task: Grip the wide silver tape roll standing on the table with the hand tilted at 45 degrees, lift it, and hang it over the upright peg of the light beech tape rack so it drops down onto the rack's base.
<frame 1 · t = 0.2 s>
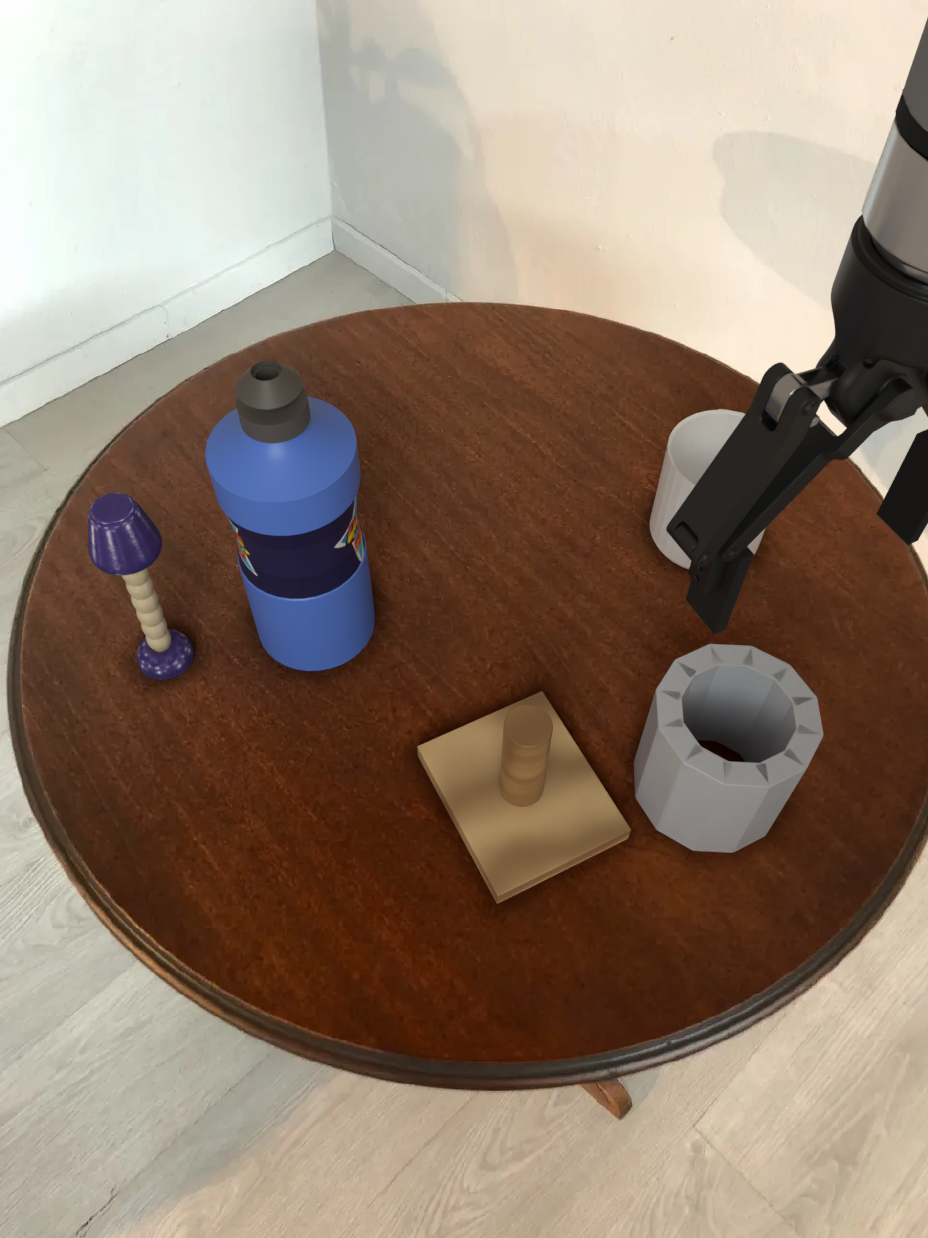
hand: (803, 569, 57), 19 cm above the table, tool pointing down, fingers open, 13 cm apart
silver tape: (706, 783, 71), on the table
water bottle: (316, 623, 78), on the table
toy lamp: (171, 657, 77), on the table
mug: (707, 521, 85), on the table
tape rack: (520, 796, 70), on the table
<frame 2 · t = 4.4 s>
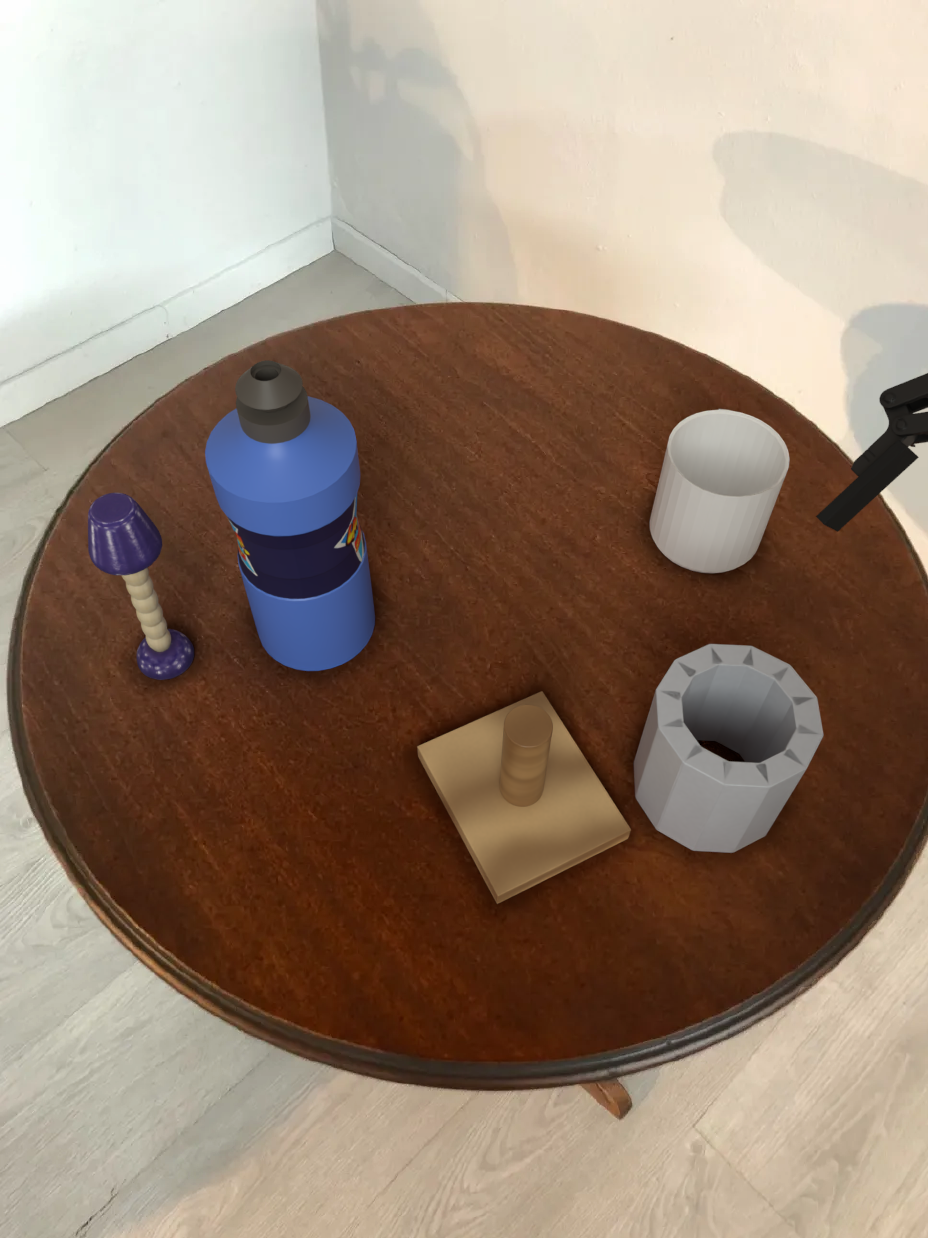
hand: (900, 602, 61), 15 cm above the table, tool tilted 45°, fingers open, 13 cm apart
nothing on the table moved.
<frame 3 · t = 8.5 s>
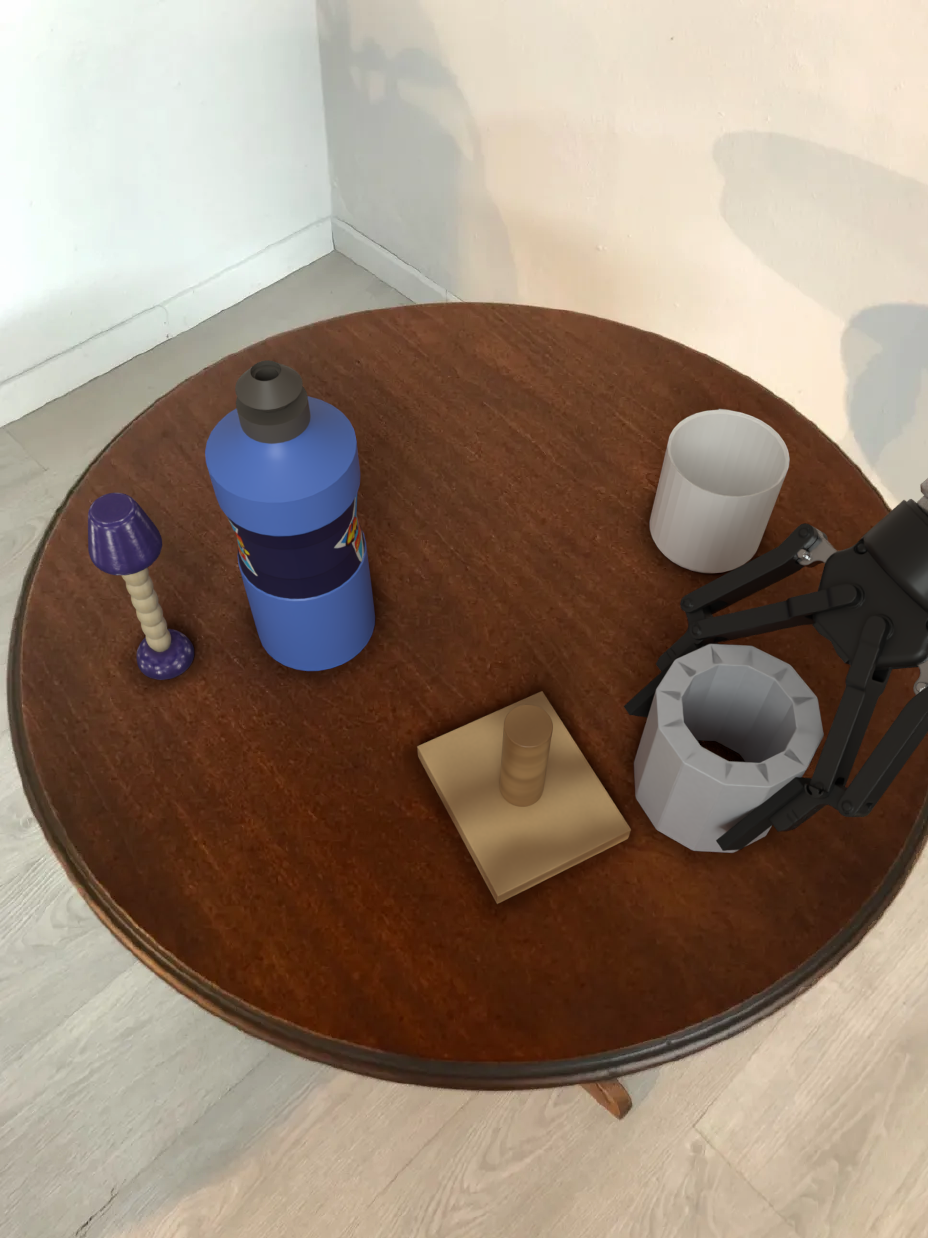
hand: (680, 775, 66), 4 cm above the table, tool tilted 45°, fingers closed on silver tape, 10 cm apart
silver tape: (706, 784, 70), on the table, touching gripper
everything else where it was.
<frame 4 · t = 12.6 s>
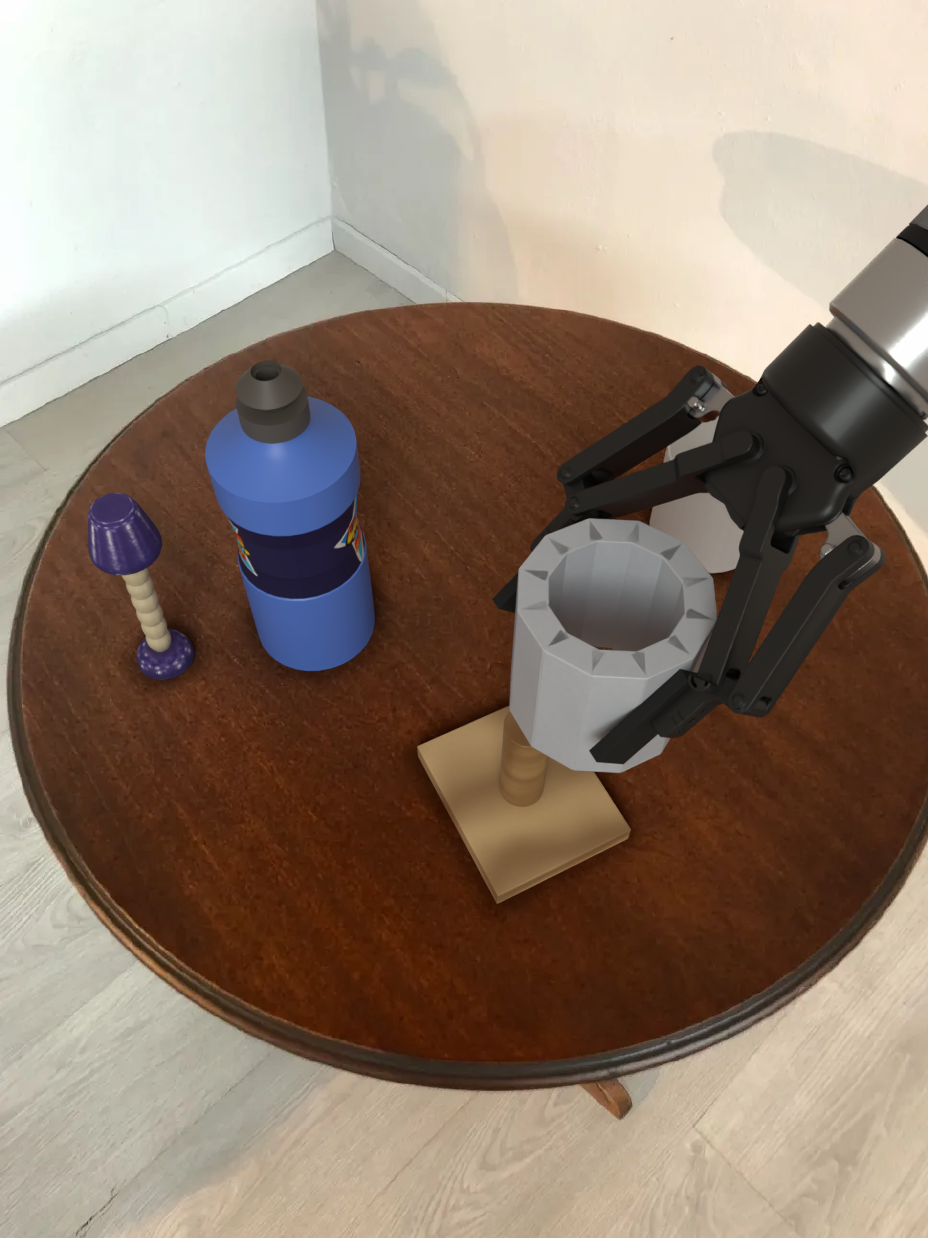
hand: (555, 679, 56), 17 cm above the table, tool tilted 45°, fingers closed on silver tape, 10 cm apart
silver tape: (595, 695, 60), point 13 cm above the table, touching gripper
everything else where it was.
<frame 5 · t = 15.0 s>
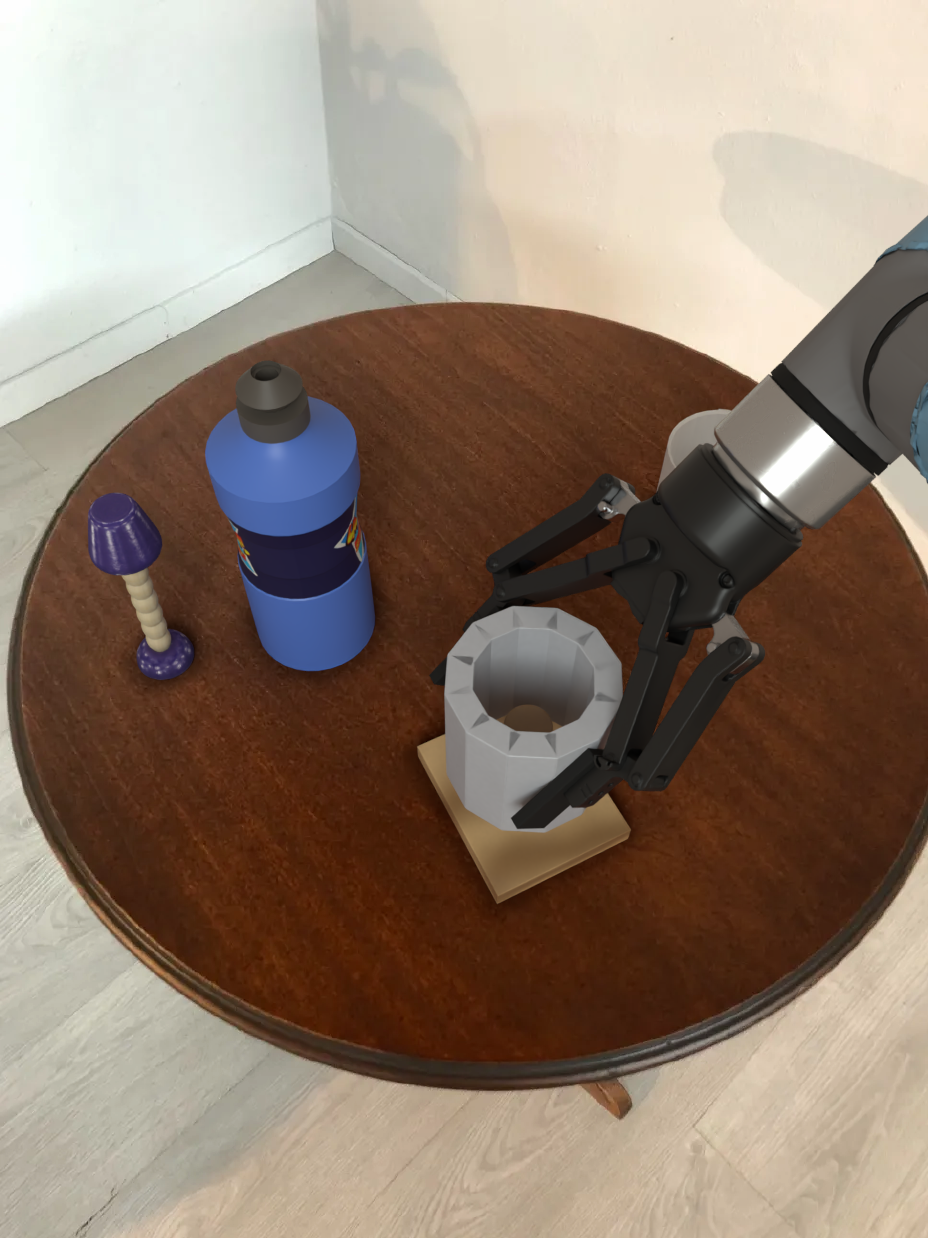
hand: (484, 749, 62), 9 cm above the table, tool tilted 45°, fingers closed on silver tape, 10 cm apart
silver tape: (524, 759, 66), point 5 cm above the table, touching gripper
everything else where it was.
when the fingers open (5 cm above the table, at t = 16.7 s): silver tape stays where it is, resting on tape rack.
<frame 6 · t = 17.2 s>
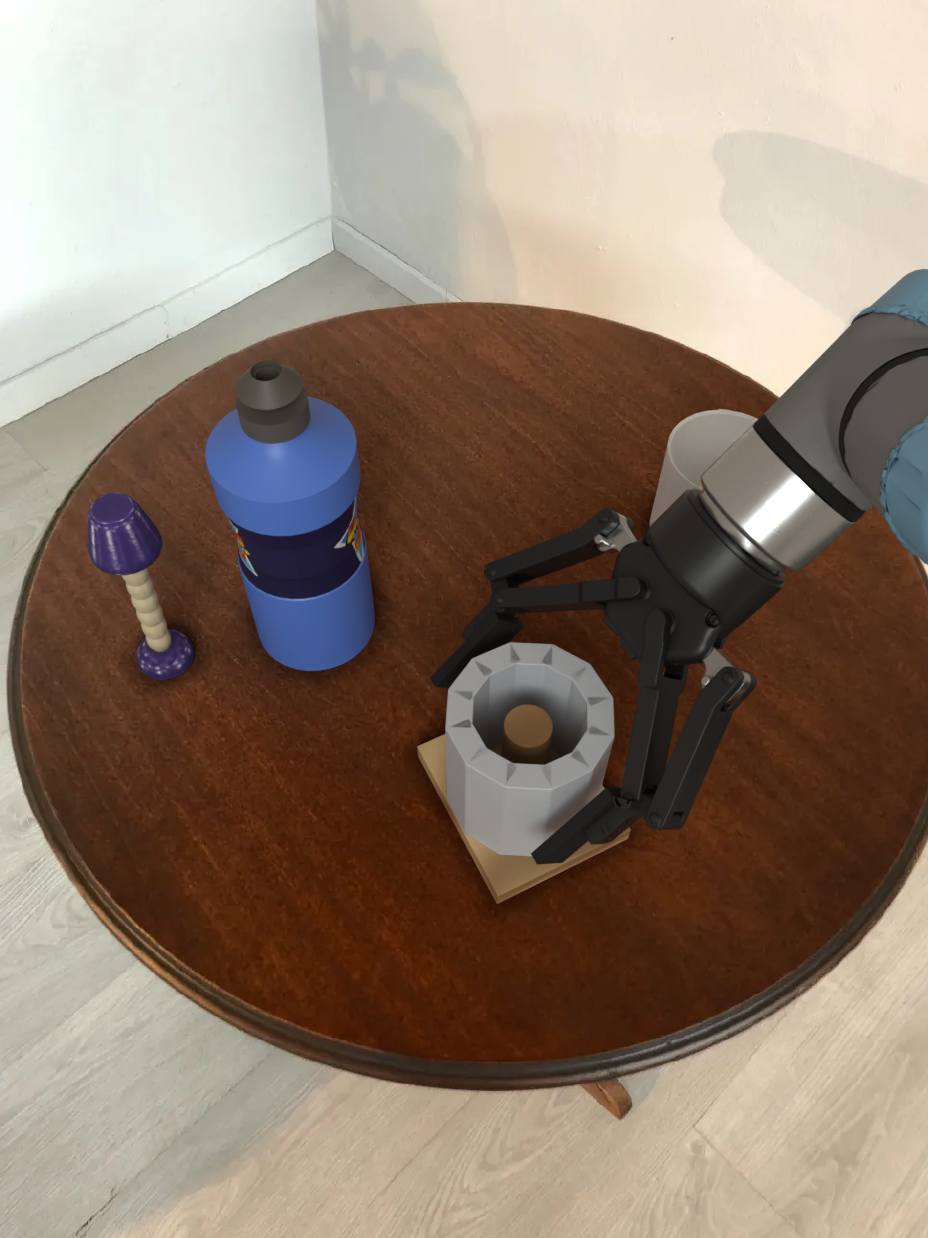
hand: (493, 767, 64), 7 cm above the table, tool tilted 45°, fingers open, 13 cm apart
silver tape: (521, 786, 69), point 1 cm above the table, touching tape rack
everything else where it was.
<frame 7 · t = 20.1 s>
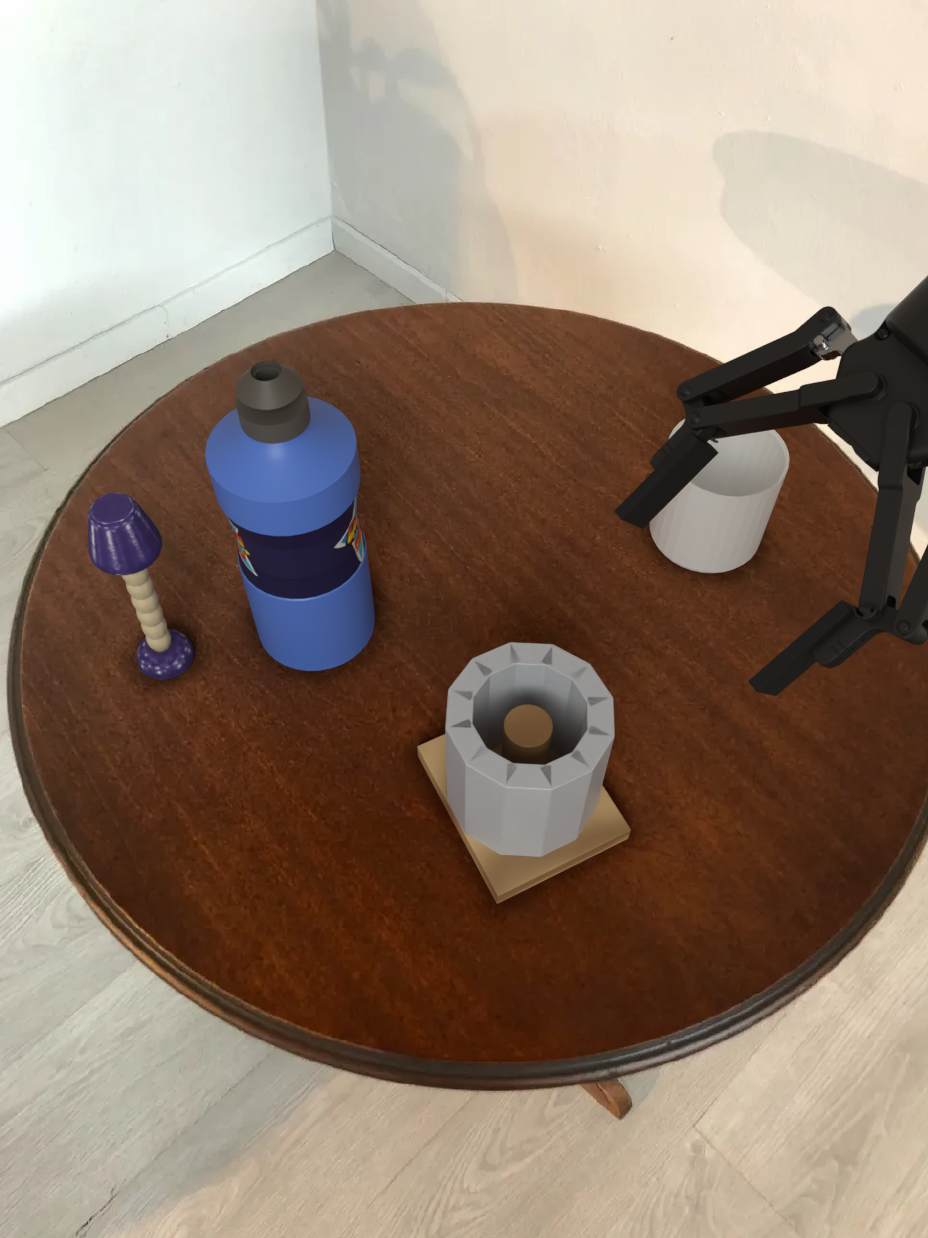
hand: (690, 600, 59), 17 cm above the table, tool tilted 45°, fingers open, 13 cm apart
nothing on the table moved.
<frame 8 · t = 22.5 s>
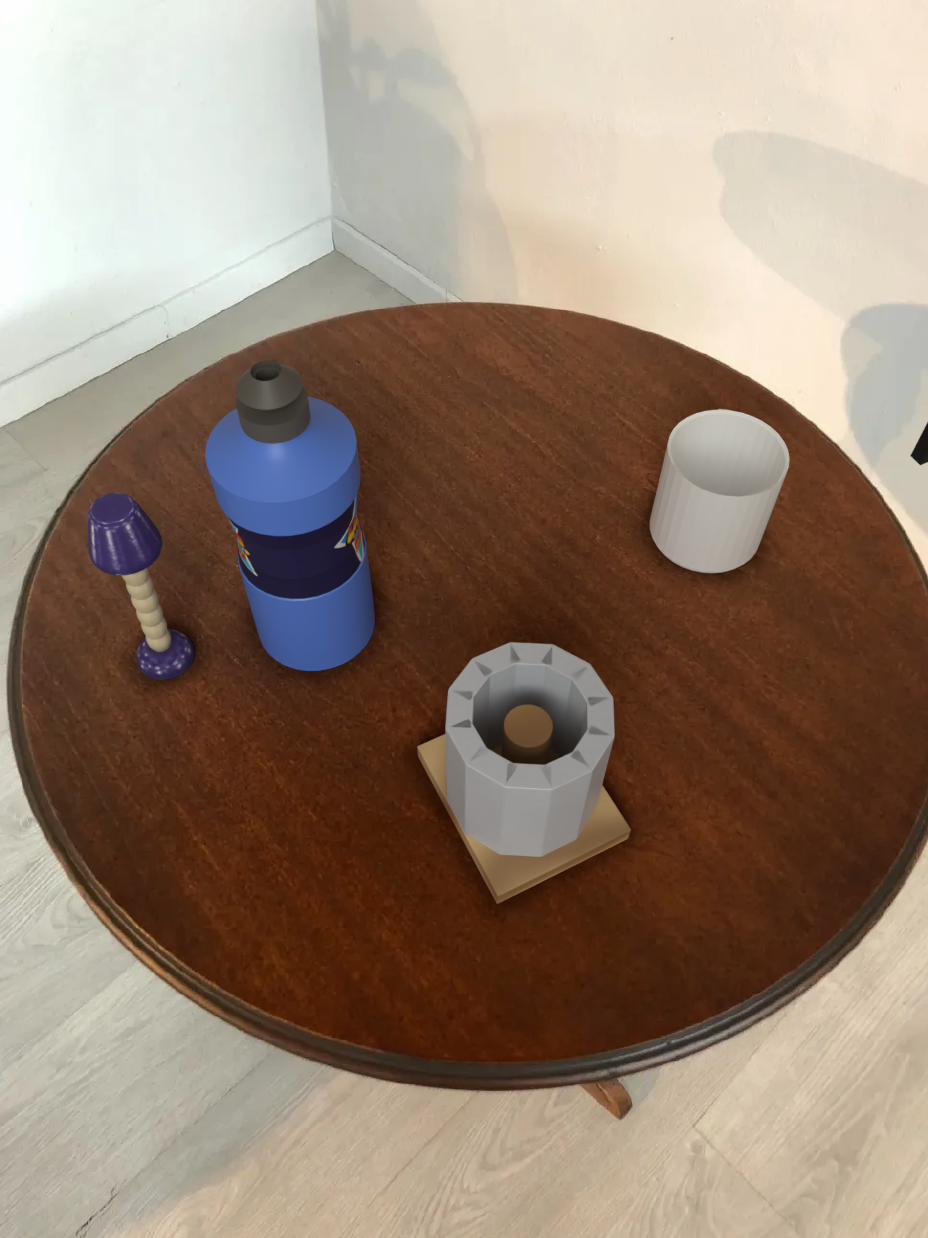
nothing on the table moved.
at the end: silver tape 0.0 cm off-centre on the tape rack, point 1.5 cm above the tape rack's base; silver tape tilted 0°; the gripper is holding nothing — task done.
